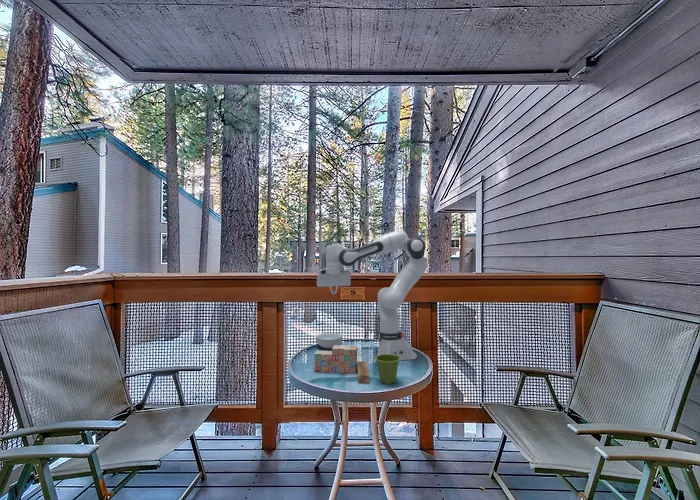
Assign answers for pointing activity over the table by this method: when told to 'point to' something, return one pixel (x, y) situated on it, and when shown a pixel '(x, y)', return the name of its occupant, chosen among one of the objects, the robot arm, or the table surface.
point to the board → (362, 372)
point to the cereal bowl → (328, 340)
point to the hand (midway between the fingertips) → (334, 293)
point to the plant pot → (387, 367)
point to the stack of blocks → (337, 360)
